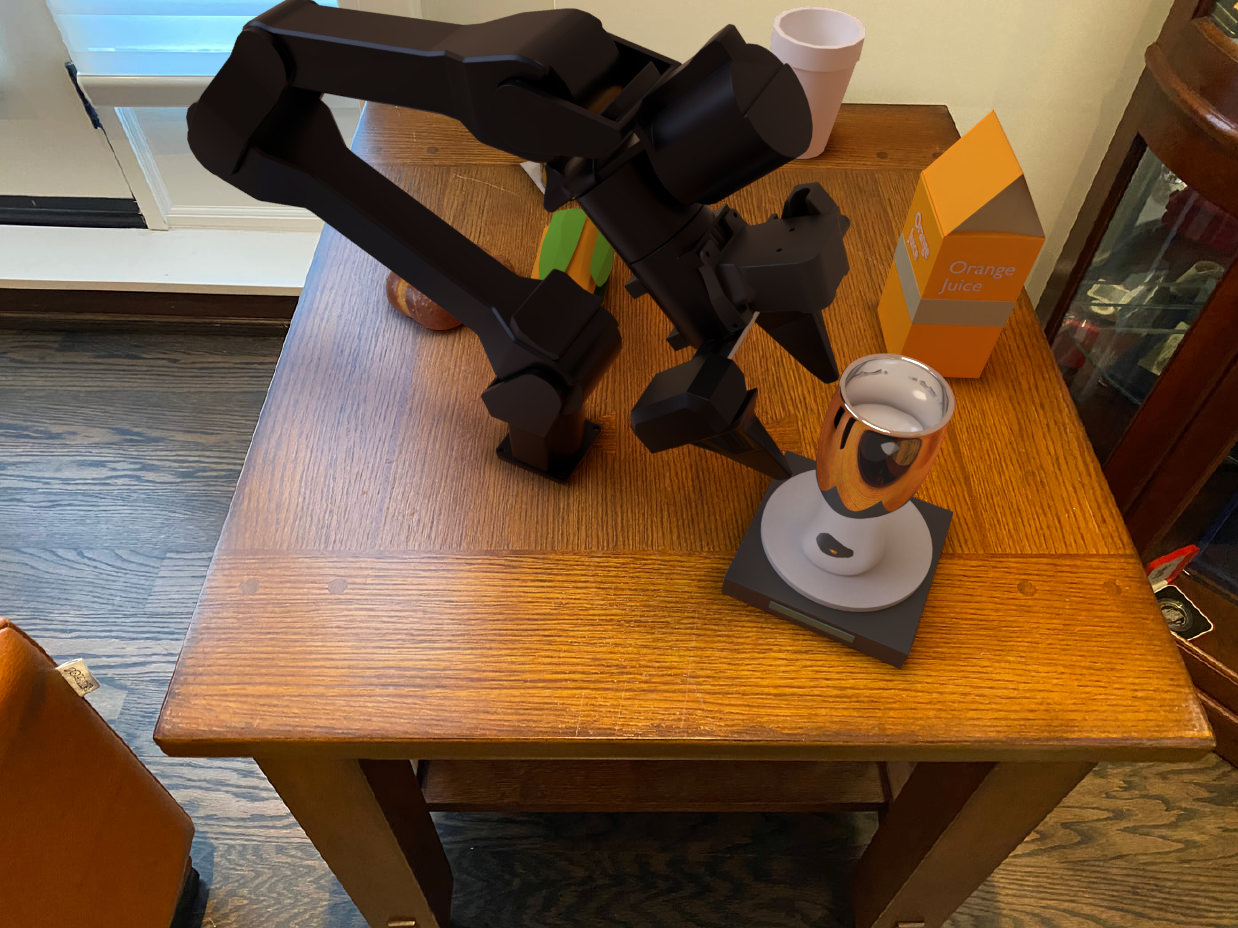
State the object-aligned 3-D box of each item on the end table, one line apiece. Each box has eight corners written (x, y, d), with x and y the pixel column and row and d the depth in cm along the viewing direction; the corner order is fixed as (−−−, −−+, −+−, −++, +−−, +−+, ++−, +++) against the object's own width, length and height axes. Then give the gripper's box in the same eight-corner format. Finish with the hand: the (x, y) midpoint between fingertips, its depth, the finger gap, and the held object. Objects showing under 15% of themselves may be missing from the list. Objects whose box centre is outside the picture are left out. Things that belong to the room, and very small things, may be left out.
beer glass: (899, 582, 59) (972, 439, 48) (797, 581, 59) (846, 438, 47) (879, 500, 64) (942, 350, 52) (785, 499, 63) (826, 349, 52)
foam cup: (834, 172, 95) (862, 54, 85) (750, 160, 96) (768, 42, 86) (841, 128, 101) (867, 12, 91) (762, 117, 102) (779, 2, 92)
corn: (621, 185, 79) (584, 331, 67) (624, 253, 85) (592, 400, 73) (541, 182, 80) (491, 326, 68) (551, 250, 86) (506, 394, 74)
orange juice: (891, 375, 75) (967, 170, 60) (875, 308, 81) (941, 104, 65) (981, 379, 75) (1080, 174, 60) (959, 311, 81) (1045, 108, 65)
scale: (900, 670, 58) (911, 652, 56) (720, 593, 61) (724, 574, 59) (945, 527, 65) (956, 506, 63) (782, 465, 69) (788, 444, 67)
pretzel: (507, 250, 86) (504, 218, 83) (527, 322, 79) (524, 290, 76) (384, 267, 84) (376, 234, 81) (393, 342, 77) (385, 310, 74)
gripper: (701, 274, 38) (881, 515, 44) (831, 87, 49) (962, 299, 54) (551, 348, 46) (719, 542, 52) (691, 173, 57) (817, 350, 63)
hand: (811, 427), depth 55 cm, fingers open, 9 cm apart
